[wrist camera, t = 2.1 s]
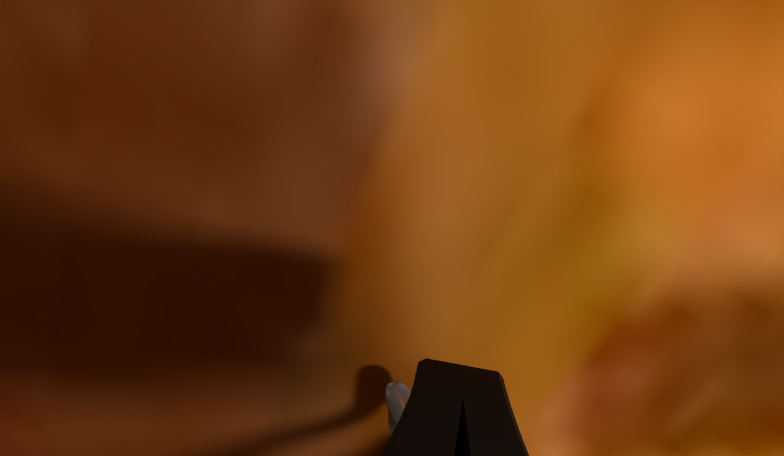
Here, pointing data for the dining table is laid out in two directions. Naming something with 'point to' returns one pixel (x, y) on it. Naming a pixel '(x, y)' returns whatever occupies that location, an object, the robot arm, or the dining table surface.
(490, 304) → the dining table surface
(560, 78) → the dining table surface
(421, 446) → the robot arm
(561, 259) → the dining table surface
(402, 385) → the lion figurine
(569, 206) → the dining table surface
